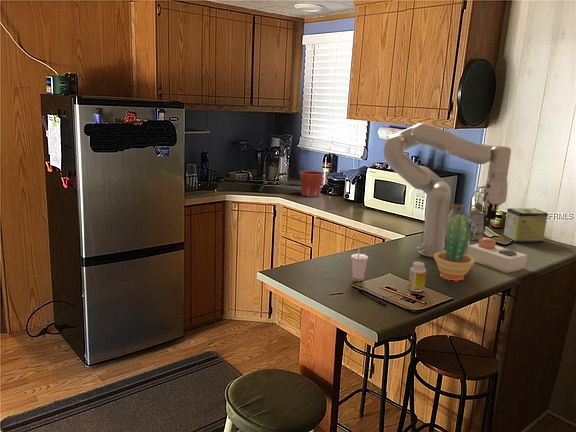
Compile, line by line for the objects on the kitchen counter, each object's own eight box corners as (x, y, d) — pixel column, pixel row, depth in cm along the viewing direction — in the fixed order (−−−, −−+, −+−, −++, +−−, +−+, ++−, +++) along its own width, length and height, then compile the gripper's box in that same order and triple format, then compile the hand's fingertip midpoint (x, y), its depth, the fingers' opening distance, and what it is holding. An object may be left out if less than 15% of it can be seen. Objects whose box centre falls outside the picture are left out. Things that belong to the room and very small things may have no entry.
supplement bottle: (426, 290, 177) (429, 263, 174) (419, 294, 173) (422, 267, 170) (412, 285, 180) (415, 259, 178) (405, 289, 176) (407, 263, 174)
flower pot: (309, 192, 348) (310, 169, 344) (327, 196, 337) (328, 173, 333) (293, 195, 336) (294, 171, 332) (311, 199, 325) (312, 175, 321)
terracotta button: (487, 254, 208) (489, 241, 207) (477, 251, 212) (479, 238, 211) (494, 253, 211) (496, 239, 209) (484, 250, 215) (486, 236, 213)
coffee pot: (443, 224, 270) (446, 198, 267) (465, 226, 267) (468, 200, 264) (443, 234, 251) (447, 206, 247) (467, 237, 248) (471, 208, 244)
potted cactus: (456, 287, 180) (465, 222, 174) (423, 274, 193) (429, 212, 186) (480, 279, 189) (489, 216, 183) (447, 267, 201) (454, 208, 195)
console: (507, 273, 197) (509, 259, 196) (466, 258, 213) (468, 245, 212) (524, 268, 203) (527, 254, 202) (483, 254, 220) (485, 242, 218)
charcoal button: (507, 266, 201) (509, 252, 199) (497, 262, 205) (499, 249, 203) (514, 264, 203) (516, 250, 202) (504, 261, 207) (506, 247, 206)
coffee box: (482, 248, 229) (487, 215, 225) (468, 247, 230) (472, 214, 227) (479, 243, 238) (483, 210, 234) (465, 241, 239) (469, 209, 235)
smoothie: (355, 276, 188) (357, 241, 184) (369, 280, 184) (372, 245, 181) (346, 280, 183) (348, 245, 180) (360, 285, 179) (363, 248, 176)
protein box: (543, 243, 241) (548, 212, 238) (514, 243, 239) (519, 213, 235) (530, 237, 251) (534, 208, 248) (502, 237, 249) (506, 208, 245)
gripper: (493, 178, 196) (487, 222, 201) (516, 176, 204) (509, 219, 209) (478, 175, 202) (472, 218, 207) (500, 173, 210) (494, 215, 215)
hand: (490, 218), depth 208 cm, fingers closed
